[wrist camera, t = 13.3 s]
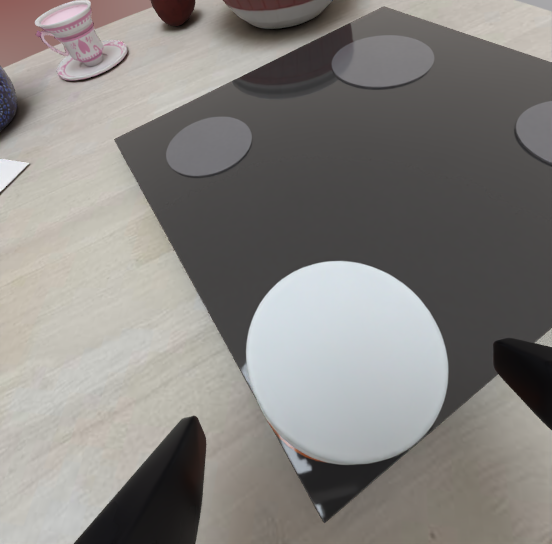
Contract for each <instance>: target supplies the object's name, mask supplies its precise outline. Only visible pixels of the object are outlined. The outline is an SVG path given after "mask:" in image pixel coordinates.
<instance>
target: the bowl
mask: <svg viewBox="0 0 552 544" xmlns="http://www.w3.org/2000/svg"><path fill="white" fill-rule="evenodd" d="M223 1H224V2H225V3H226V5H227V6H228V7H229V8H230V9H231V10H232V11H233V12H234V13H235V14H236V15H237V16H238V17H240V18H241V19H243V20H245V21H246V22H248V23H250V24H251V25H253V26H256V27H259V28H266V29H276V28H285V27H291V26H295V25H298V24H301V23H304V22H306V21H309V20H311V19H313V18H314V17H316V16H318V15H319V14H320V13H321V12H322V11H323V10H324V9H325V8H326V7H327V6H328V5H329V4H330V3H331V2H332V1H333V0H223Z"/></svg>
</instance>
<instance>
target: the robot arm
mask: <svg viewBox="0 0 552 544" xmlns="http://www.w3.org/2000/svg"><path fill="white" fill-rule="evenodd" d="M493 366H494V368H495V370H496V372H497V373H498V374H499V375H500V377H501V378H502V379H503V380H504V381H505V382H506V383H507V384H508V385H509V386H510V387H511V388H512V389H513V391H514V392H515V393H516V394H517V395H518V396H519V397H520V398H521V399H522V400H523V401H524V402H525V403H526V405H527V406H528V407H529V408H530V409H531V410H532V411H533V412H534V413H535V414H536V415H537V416H538V417H539V418H540V419H541V420H542V421H543V422H544V423H545V424H546V425H547V426H548V427H549V428H550V429H551V430H552V347H548V346H544V345H540V344H535V343H531V342H527V341H522V340H518V339H514V338H505V339H501V340H497V341H495V342H494V343H493ZM205 456H206V437H205V434H204V432H203V429H202V427H201V425H200V422H199V420H198V418H197V417H196V416H191V417H187V418H183V419H182V420H181V421H180V422H179V423H178V424H177V425H176V426H175V427H174V429H173V430H172V431H171V432H170V433H169V434H168V435H167V437H166V438H165V439H164V440H163V441H162V442H161V444H160V445H159V446H158V447H157V448H156V449H155V450H154V452H153V453H152V454H151V455H150V456H149V457H148V459H147V460H146V461H145V462H144V463H143V464H142V465H141V467H140V468H139V469H138V470H137V471H136V472H135V474H134V475H133V476H132V477H131V478H130V479H129V480H128V482H127V483H126V484H125V485H124V486H123V487H122V489H121V490H120V491H119V492H118V493H117V494H116V495H115V497H114V498H113V499H112V500H111V501H110V502H109V504H108V505H107V506H106V507H105V508H104V509H103V510H102V512H101V513H100V514H99V515H98V516H97V517H96V519H95V520H94V521H93V522H92V523H91V524H90V525H89V527H88V528H87V529H86V530H85V531H84V532H83V534H82V535H81V536H80V537H79V538H78V539H77V540H76V542H75V543H74V544H195V543H196V537H197V531H198V525H199V519H200V513H201V506H202V495H203V483H204V469H205Z"/></svg>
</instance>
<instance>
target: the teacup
mask: <svg viewBox="0 0 552 544" xmlns="http://www.w3.org/2000/svg"><path fill="white" fill-rule="evenodd" d="M90 5H91V3H90V1H89V0H77V1H73V2H69V3H66V4H63V5H60V6H58V7H55V8H53V9H51V10H49V11H47V12H46V13H44V14H43V15H41V16H40V17H39V18H37V19H36V21H35V24H36V25H37V26H39V27H41V28H42V29H43V30H45V31H42V32H41V33H40V32H39V31H37V34H36V36H38V37H40V38H41V40H42V41H43V42H44V43H45V44H46V45H47V46H48V47H49V48H51V49H52V50H54V51H55V52H57V53H59V54H61V55H63V56H67V57H66V58H64V59H63V60H62V61H61V63H60V64H59V65H58V68H57V73H58V75H59V77H61V78H63V79H64V80H81V79H86V78H90V77H93V76H96V75H98V74H101V73H103V72H105V71H107V70H109V69H110V68H112V67H114V66H115V65H117V64H118V63H119V62H120V61H121V60H122V59H124V57H125V55H126V54H127V49H128V48H127V46H126V45H125V43H124V42H121V41H118V40H106V41H101V40H100V39H99V37H98V36H97V34H96V32H95V30H94V23H93V21H92V20H91V7H90ZM44 35H51V36H54V38H55V39H57V40H58V41H60V42H61V43H62V44H63V45H64V48H65V51H66V52H61V51H59V50H57V49H56V48H54V47H52V46H51V45H49V44H48V43H47V42H46V41H45V39H44ZM69 54H70V55H69Z"/></svg>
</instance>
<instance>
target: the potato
mask: <svg viewBox="0 0 552 544" xmlns="http://www.w3.org/2000/svg"><path fill="white" fill-rule="evenodd" d="M151 3H152V6H153V8H154V9H155V11H156V13H157V14H158V16H159V17H160V18H161V19H162V20H163V21H164V22H165V23H166V24H168V25H171V26H179V25H182V24H183V23H184V22H185V21H186V20H187V19H189V17H190V16H191V14H192V12H193V10H194V6H195V0H151Z"/></svg>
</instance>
